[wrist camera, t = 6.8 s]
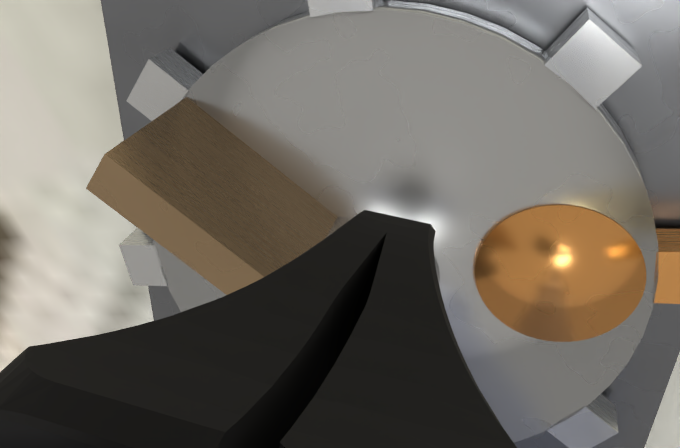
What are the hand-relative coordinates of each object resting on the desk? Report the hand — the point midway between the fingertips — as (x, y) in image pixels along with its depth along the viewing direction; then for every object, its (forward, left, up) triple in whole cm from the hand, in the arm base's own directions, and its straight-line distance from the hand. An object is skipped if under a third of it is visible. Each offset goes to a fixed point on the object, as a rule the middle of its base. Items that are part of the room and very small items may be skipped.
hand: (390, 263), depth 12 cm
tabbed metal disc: (-4, +1, -7) cm, 9 cm away
